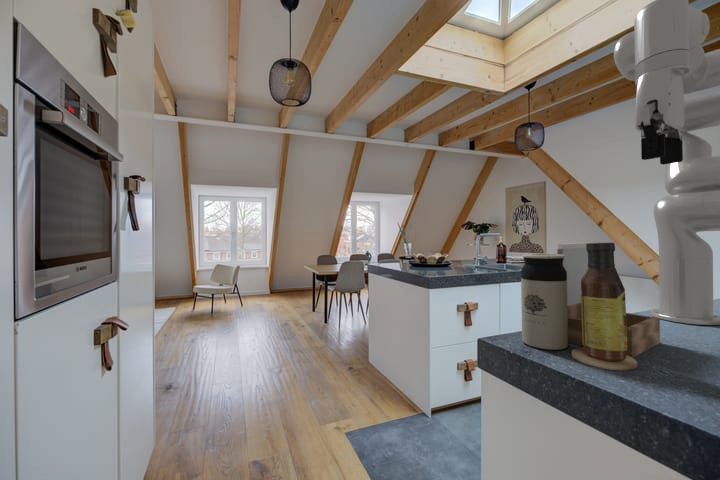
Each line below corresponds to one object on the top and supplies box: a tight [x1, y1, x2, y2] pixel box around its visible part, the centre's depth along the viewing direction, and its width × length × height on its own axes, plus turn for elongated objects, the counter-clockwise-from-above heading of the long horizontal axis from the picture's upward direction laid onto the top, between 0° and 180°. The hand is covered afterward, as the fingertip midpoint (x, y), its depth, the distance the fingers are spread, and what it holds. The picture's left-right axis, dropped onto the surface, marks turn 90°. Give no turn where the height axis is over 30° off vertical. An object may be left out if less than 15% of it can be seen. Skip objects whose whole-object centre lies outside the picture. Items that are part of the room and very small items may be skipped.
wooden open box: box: [567, 303, 661, 359], centre depth 65 cm, size 14×12×7 cm
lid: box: [556, 242, 588, 306], centre depth 69 cm, size 15×1×20 cm, turn 122°
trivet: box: [571, 347, 638, 372], centre depth 55 cm, size 9×9×1 cm
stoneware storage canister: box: [520, 253, 569, 351], centre depth 64 cm, size 8×8×18 cm
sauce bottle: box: [581, 242, 627, 361], centre depth 56 cm, size 7×6×20 cm
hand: (662, 160), depth 61 cm, fingers open, 9 cm apart
